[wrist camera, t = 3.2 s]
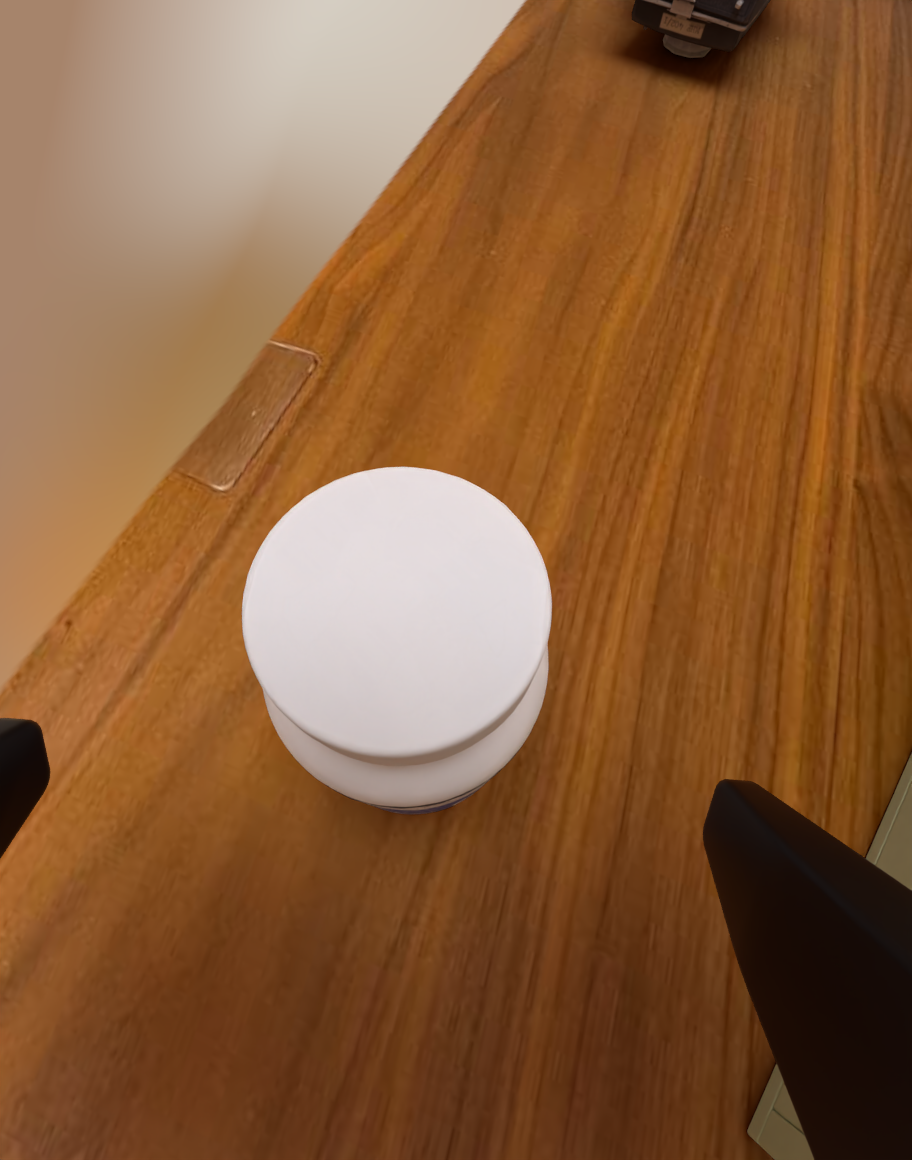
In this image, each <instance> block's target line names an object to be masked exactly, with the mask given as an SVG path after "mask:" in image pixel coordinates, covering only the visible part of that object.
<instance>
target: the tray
mask: <svg viewBox="0 0 912 1160" xmlns="http://www.w3.org/2000/svg"><path fill="white" fill-rule="evenodd" d="M866 859H867V860H868V861H870V862H871V863H873V864H874V865H875V866H877V867H878V868H880V869H881V870H883V871H884V872H886V873H887V874H889V875H890V876H891V877H893V878H894V879H896V880H897V881H899V882H900V883H902V884H903V885H905V886H906V887H907V888H909V889H910V890H912V753H911V755H910V758H909V760H908V762H907V765H906V767H905V769H904V771H903V774H902V776H901V778H900V781H899V783H898V785H897V788H896V790H895V792H894V794H893V797H892V799H891V801H890V804H889V806H888V808H887V811H886V813H885V815H884V817H883V820H882V822H881V824H880V827H879V829H878V831H877V834H876V836H875V838H874V840H873V843H872V845H871V847H870V850H869V852H868V854H867V856H866ZM747 1133H748V1135H749V1136H750V1137H751V1138H752V1139H753V1140H754V1141H755V1142H757V1143H758V1144H759V1145H760V1146H761V1147H762V1148H763V1149H764V1150H765V1151H766V1152H767V1153H768V1154H769V1155H770V1156H771V1157H772V1158H773V1159H774V1160H814V1158H813V1155H812V1153H811V1150H810V1147H809V1145H808V1142H807V1140H806V1137H805V1135H804V1132H803V1130H802V1127H801V1124H800V1122H799V1119H798V1117H797V1114H796V1112H795V1109H794V1107H793V1104H792V1101H791V1099H790V1096H789V1094H788V1091H787V1089H786V1086H785V1084H784V1081H783V1078H782V1076H781V1073H780V1071H779V1068H778V1066H777V1063H776V1066H775V1068H774V1070H773V1073H772V1075H771V1077H770V1079H769V1082H768V1084H767V1086H766V1089H765V1091H764V1093H763V1095H762V1098H761V1100H760V1102H759V1105H758V1107H757V1109H756V1112H755V1114H754V1116H753V1118H752V1121H751V1123H750V1125H749V1128H748V1130H747Z"/></svg>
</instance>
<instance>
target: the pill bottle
mask: <svg viewBox="0 0 912 1160" xmlns="http://www.w3.org/2000/svg"><path fill="white" fill-rule="evenodd" d="M551 617H552V598H551V591H550V584H549V580H548V575H547V571H546V568H545V564H544V562H543V559H542V557H541V554H540V552H539V550H538V548H537V546H536V544H535V542H534V540H533V539H532V537H531V536H530V534H529V532H528V531H527V529H526V528H525V527H524V525H523V524H522V523H521V522H520V521H519V520H518V518H517V517H516V516H515V515H514V514H513V513H512V512H511V511H510V510H509V509H508V507H507V506H506V505H505V504H503V503H502V502H501V501H499V500H498V499H497V498H495V497H494V496H492V495H491V494H490V493H488V492H487V491H485V490H483V489H481V488H480V487H478V486H476V485H474V484H472V483H470V482H468V481H466V480H464V479H462V478H459V477H456V476H453V475H449V474H446V473H443V472H439V471H436V470H429V469H421V468H413V467H388V468H380V469H374V470H368V471H363V472H358V473H355V474H352V475H349V476H346V477H343V478H341V479H338V480H335V481H333V482H331V483H329V484H327V485H325V486H323V487H321V488H319V489H318V490H316V491H315V492H313V493H311V494H310V495H308V496H307V497H305V498H304V499H302V500H301V501H300V502H299V503H298V504H297V505H295V506H294V507H293V508H292V509H291V510H290V511H289V512H288V513H287V514H285V515H284V516H283V517H282V518H281V520H280V521H279V522H278V523H277V524H276V525H275V526H274V528H273V529H272V530H271V531H270V533H269V534H268V536H267V537H266V539H265V540H264V542H263V543H262V545H261V547H260V548H259V550H258V552H257V554H256V556H255V559H254V561H253V563H252V565H251V568H250V571H249V573H248V576H247V581H246V587H245V590H244V595H243V605H242V628H243V637H244V643H245V648H246V651H247V654H248V658H249V661H250V664H251V666H252V668H253V671H254V673H255V675H256V677H257V679H258V681H259V683H260V685H261V687H262V688H263V692H264V698H265V702H266V706H267V709H268V712H269V715H270V718H271V720H272V723H273V725H274V727H275V729H276V731H277V733H278V735H279V737H280V738H281V740H282V741H283V743H284V745H285V746H286V748H287V749H288V750H289V752H290V753H291V754H292V755H293V756H294V758H295V759H296V760H297V761H298V762H299V763H300V764H301V765H302V766H303V767H304V768H305V769H306V770H307V771H308V772H309V773H310V774H311V775H313V776H314V777H315V778H316V779H318V780H319V781H321V782H322V783H324V784H325V785H327V786H328V787H330V788H332V789H333V790H335V791H336V792H339V793H341V794H342V795H344V796H346V797H348V798H350V799H353V800H357V801H360V802H363V803H366V804H369V805H372V806H374V807H377V808H380V809H383V810H386V811H390V812H394V813H400V814H410V815H411V814H426V813H432V812H437V811H440V810H443V809H446V808H449V807H451V806H454V805H456V804H458V803H460V802H462V801H464V800H465V799H467V798H468V797H470V796H471V795H473V794H474V793H475V792H476V791H477V790H479V789H480V788H481V787H482V786H483V785H484V784H486V783H487V782H488V781H489V780H490V779H491V778H492V777H494V776H495V775H496V774H497V773H498V772H499V771H500V770H501V769H502V768H504V767H505V765H506V764H507V763H508V762H509V761H510V760H511V759H512V758H513V757H514V756H515V755H516V753H517V752H518V751H519V749H520V748H521V746H522V745H523V744H524V742H525V740H526V739H527V737H528V736H529V734H530V732H531V730H532V728H533V726H534V724H535V722H536V720H537V717H538V715H539V712H540V709H541V706H542V703H543V700H544V696H545V691H546V686H547V679H548V668H549V665H548V647H547V642H548V638H549V633H550V628H551Z"/></svg>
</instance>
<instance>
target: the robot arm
mask: <svg viewBox="0 0 912 1160" xmlns="http://www.w3.org/2000/svg"><path fill="white" fill-rule="evenodd" d="M49 779H50V767H49V762H48V757H47V753H46V748H45V743H44V739H43V734H42V730H41V727H40V726H39V725H38V724H37V723H36V722H34V721H32V720H25V719H13V718H1V719H0V858H1V857H2V855H3V854H4V852H5V851H6V849H7V848H8V846H9V845H10V843H11V842H12V840H13V839H14V837H15V836H16V834H17V833H18V831H19V830H20V828H21V827H22V825H23V823H24V822H25V820H26V819H27V817H28V816H29V814H30V813H31V811H32V810H33V808H34V807H35V805H36V804H37V802H38V801H39V799H40V798H41V796H42V795H43V793H44V791H45V790H46V788H47V785H48V783H49ZM703 841H704V847H705V850H706V854H707V857H708V861H709V864H710V868H711V871H712V875H713V878H714V882H715V885H716V889H717V892H718V896H719V899H720V903H721V906H722V910H723V913H724V917H725V920H726V924H727V927H728V931H729V934H730V937H731V941H732V944H733V948H734V951H735V954H736V957H737V961H738V964H739V967H740V970H741V973H742V975H743V978H744V981H745V983H746V986H747V989H748V992H749V994H750V997H751V999H752V1002H753V1004H754V1007H755V1009H756V1012H757V1015H758V1017H759V1020H760V1022H761V1025H762V1027H763V1030H764V1032H765V1035H766V1038H767V1040H768V1043H769V1045H770V1048H771V1050H772V1053H773V1055H774V1058H775V1061H776V1063H777V1066H778V1068H779V1071H780V1073H781V1076H782V1078H783V1081H784V1084H785V1086H786V1089H787V1091H788V1094H789V1096H790V1099H791V1101H792V1104H793V1107H794V1109H795V1112H796V1114H797V1117H798V1119H799V1122H800V1124H801V1127H802V1130H803V1132H804V1135H805V1137H806V1140H807V1142H808V1145H809V1147H810V1150H811V1153H812V1155H813V1158H814V1160H912V890H910V889H909V888H907V887H906V886H905V885H903V884H902V883H900V882H899V881H897V880H896V879H894V878H893V877H891V876H890V875H889V874H887V873H886V872H884V871H883V870H881V869H880V868H878V867H877V866H875V865H874V864H873V863H871V862H870V861H868V860H867V859H865V858H864V857H862V856H861V855H859V854H858V853H857V852H855V851H854V850H852V849H851V848H849V847H848V846H846V845H845V844H843V843H842V842H841V841H839V840H838V839H836V838H835V837H833V836H832V835H830V834H829V833H827V832H826V831H825V830H823V829H822V828H820V827H819V826H817V825H816V824H814V823H813V822H811V821H810V820H809V819H807V818H806V817H804V816H803V815H801V814H800V813H798V812H797V811H795V810H794V809H793V808H791V807H790V806H788V805H787V804H785V803H784V802H782V801H781V800H779V799H778V798H777V797H775V796H774V795H772V794H771V793H769V792H768V791H766V790H765V789H764V788H762V787H761V786H759V785H758V784H756V783H754V782H751V781H742V780H730V779H724V780H722V781H720V782H719V783H718V784H717V786H716V788H715V791H714V794H713V798H712V801H711V804H710V807H709V811H708V814H707V817H706V820H705V824H704V828H703Z"/></svg>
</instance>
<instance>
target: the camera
mask: <svg viewBox="0 0 912 1160" xmlns="http://www.w3.org/2000/svg"><path fill="white" fill-rule="evenodd" d="M769 2H770V0H635V4H634V7H633V11H632V20H633V21H635V22H637V23H639V24H641V25H643V26H644V30H647V27H648V28H650V29H652V30H655V31H657V32H660V33H663V34H665V36H664V38H663V43H664V47H666V48H667V49H668V50H670V51H671V52H672V53H674V54H676V55H680V56H684V57H689V58H696V57H704V56H705V55H706V54H707V53H708V52H709V51H710V50H711V48H713V49H719V50H723V51H727V52H730V51H733V49H734V48H735V47H736V46H737V44H738V43H739V41H740V39H741V38H743V37H744V35H745V34H746V33H747V31H748V30H749V29H750V27H751V26H752V25H753V23H754V22H755V21H756V19H757V18H758V17H759V15H760V14H761V13H762V11H763V10H764V9H765V8H766V6H767V5H768V3H769Z"/></svg>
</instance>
